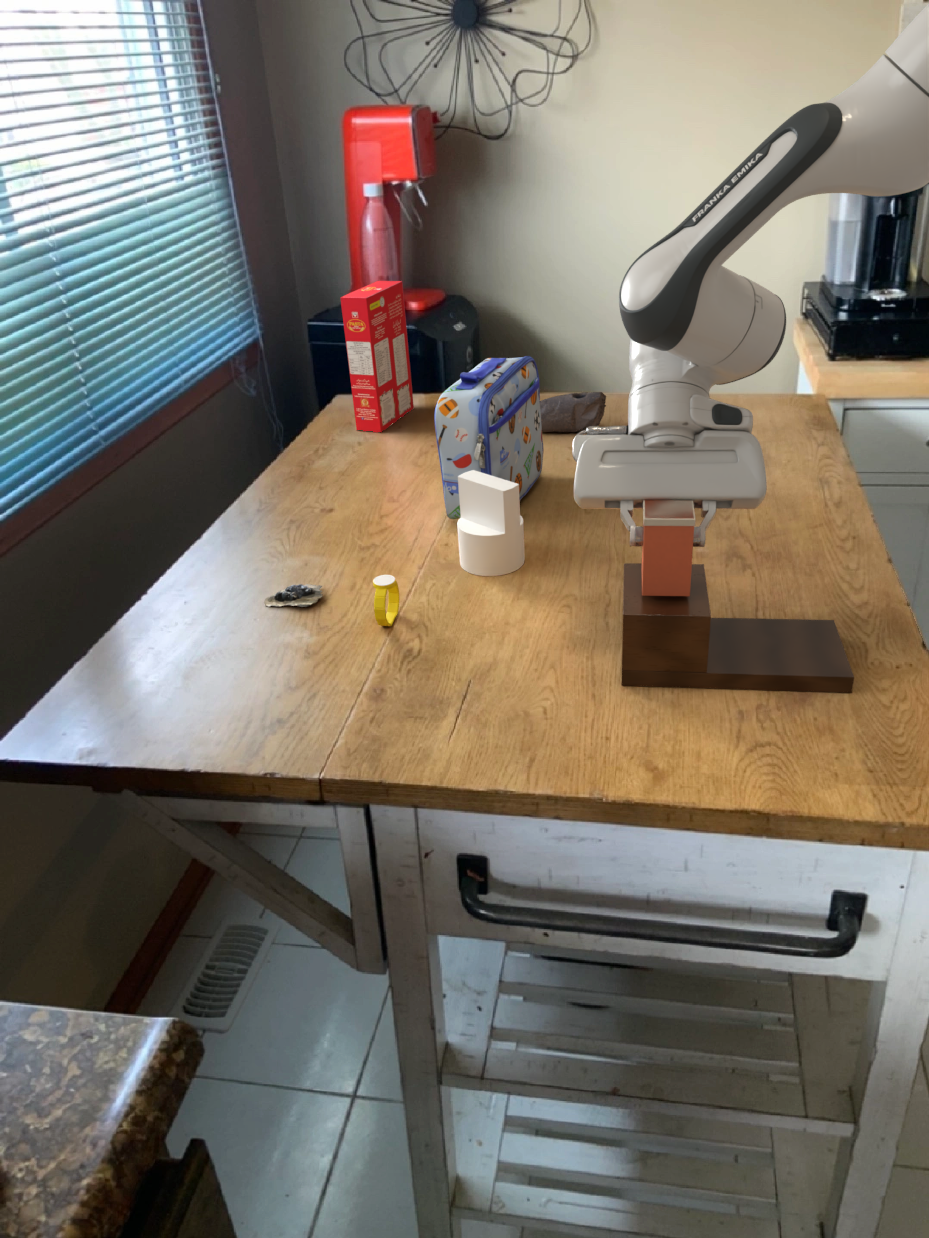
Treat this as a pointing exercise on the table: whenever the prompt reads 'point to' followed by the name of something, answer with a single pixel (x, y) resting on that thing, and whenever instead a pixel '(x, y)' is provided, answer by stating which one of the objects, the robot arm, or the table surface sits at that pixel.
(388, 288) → the food packaging
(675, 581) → the tapered rectangular bin
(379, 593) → the watch
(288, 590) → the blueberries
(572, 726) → the table surface
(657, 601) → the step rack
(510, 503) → the cylinder with rectangular tab
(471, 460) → the lunch box
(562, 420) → the perforated stone tool
